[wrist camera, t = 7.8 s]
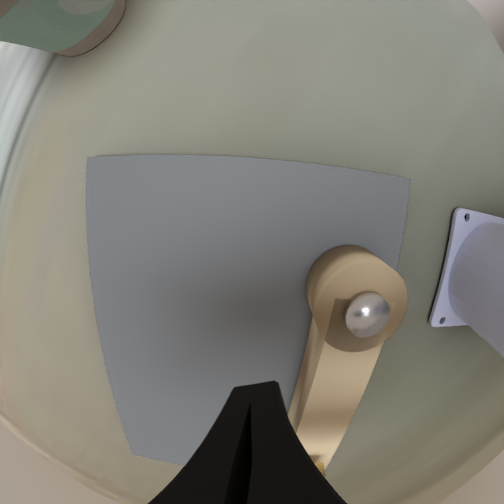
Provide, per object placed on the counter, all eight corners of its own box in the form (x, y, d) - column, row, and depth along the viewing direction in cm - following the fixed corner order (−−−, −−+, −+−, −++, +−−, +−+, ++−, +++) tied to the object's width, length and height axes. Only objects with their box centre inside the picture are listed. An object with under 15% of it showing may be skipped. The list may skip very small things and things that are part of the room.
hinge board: (402, 178, 15) (410, 179, 14) (324, 463, 21) (325, 471, 20) (95, 157, 15) (87, 157, 14) (135, 446, 21) (132, 454, 20)
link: (313, 239, 14) (326, 257, 11) (391, 250, 14) (418, 267, 11) (269, 445, 18) (269, 475, 16) (325, 445, 18) (331, 474, 16)
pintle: (391, 292, 12) (394, 295, 11) (380, 332, 12) (383, 336, 12) (348, 290, 12) (351, 294, 11) (339, 332, 12) (342, 337, 12)
